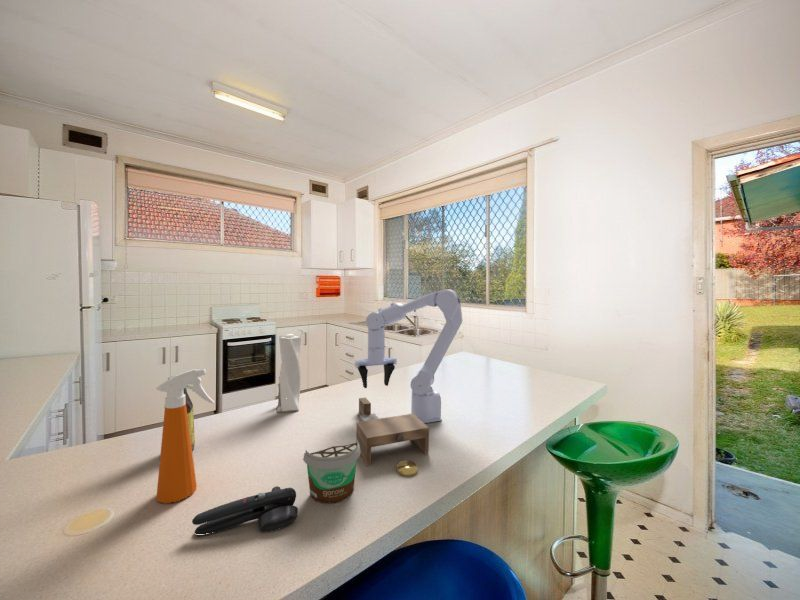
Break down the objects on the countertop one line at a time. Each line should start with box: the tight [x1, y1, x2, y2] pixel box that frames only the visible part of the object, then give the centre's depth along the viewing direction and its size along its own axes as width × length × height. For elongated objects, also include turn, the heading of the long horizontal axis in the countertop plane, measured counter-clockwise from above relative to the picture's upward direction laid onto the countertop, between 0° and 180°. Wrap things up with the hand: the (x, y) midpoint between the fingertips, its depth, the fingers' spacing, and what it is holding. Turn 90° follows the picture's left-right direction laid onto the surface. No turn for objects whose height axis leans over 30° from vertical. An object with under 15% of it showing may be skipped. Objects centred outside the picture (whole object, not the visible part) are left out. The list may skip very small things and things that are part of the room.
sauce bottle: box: [167, 375, 196, 451], centre depth 87 cm, size 7×6×20 cm
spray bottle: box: [156, 368, 215, 504], centre depth 70 cm, size 7×11×26 cm, turn 107°
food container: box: [302, 439, 361, 505], centre depth 70 cm, size 12×6×10 cm, turn 117°
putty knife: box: [358, 396, 380, 422], centre depth 106 cm, size 5×22×5 cm, turn 23°
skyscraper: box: [276, 329, 303, 414], centre depth 117 cm, size 8×8×28 cm
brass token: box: [396, 460, 419, 477], centre depth 80 cm, size 5×5×1 cm
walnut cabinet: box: [355, 413, 430, 467], centre depth 89 cm, size 17×11×7 cm, turn 113°
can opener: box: [192, 485, 299, 534], centre depth 62 cm, size 18×7×6 cm, turn 107°
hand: (375, 386), depth 115 cm, fingers open, 7 cm apart
